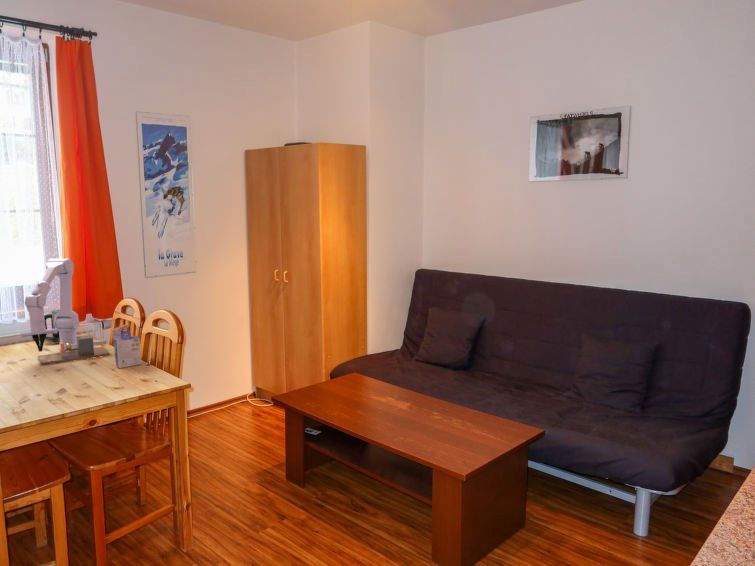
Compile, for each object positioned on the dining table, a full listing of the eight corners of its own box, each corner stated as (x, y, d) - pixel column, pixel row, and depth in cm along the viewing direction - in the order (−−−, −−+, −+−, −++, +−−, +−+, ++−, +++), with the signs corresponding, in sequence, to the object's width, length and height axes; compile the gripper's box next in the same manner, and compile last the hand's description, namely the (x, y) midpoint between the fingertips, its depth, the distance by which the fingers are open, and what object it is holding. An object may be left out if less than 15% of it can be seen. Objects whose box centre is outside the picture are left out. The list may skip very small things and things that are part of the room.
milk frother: (70, 335, 317) (68, 308, 315) (78, 341, 305) (76, 312, 303) (40, 340, 308) (38, 311, 306) (47, 345, 296) (44, 316, 294)
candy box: (124, 357, 274) (121, 324, 272) (133, 357, 274) (130, 324, 271) (114, 362, 265) (111, 329, 263) (123, 362, 265) (121, 329, 262)
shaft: (61, 354, 270) (60, 343, 269) (60, 352, 274) (59, 341, 273) (107, 348, 280) (106, 337, 280) (105, 345, 284) (104, 335, 284)
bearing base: (40, 365, 262) (38, 346, 260) (38, 358, 273) (36, 340, 272) (109, 355, 277) (108, 337, 276) (104, 349, 289) (102, 331, 287)
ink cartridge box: (138, 361, 266) (135, 330, 264) (142, 364, 262) (139, 332, 260) (114, 366, 260) (112, 333, 258) (118, 368, 256) (116, 335, 254)
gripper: (19, 325, 259) (22, 355, 261) (56, 320, 266) (59, 350, 269) (18, 322, 264) (21, 351, 267) (55, 318, 272) (57, 346, 274)
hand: (40, 350), depth 268 cm, fingers closed
